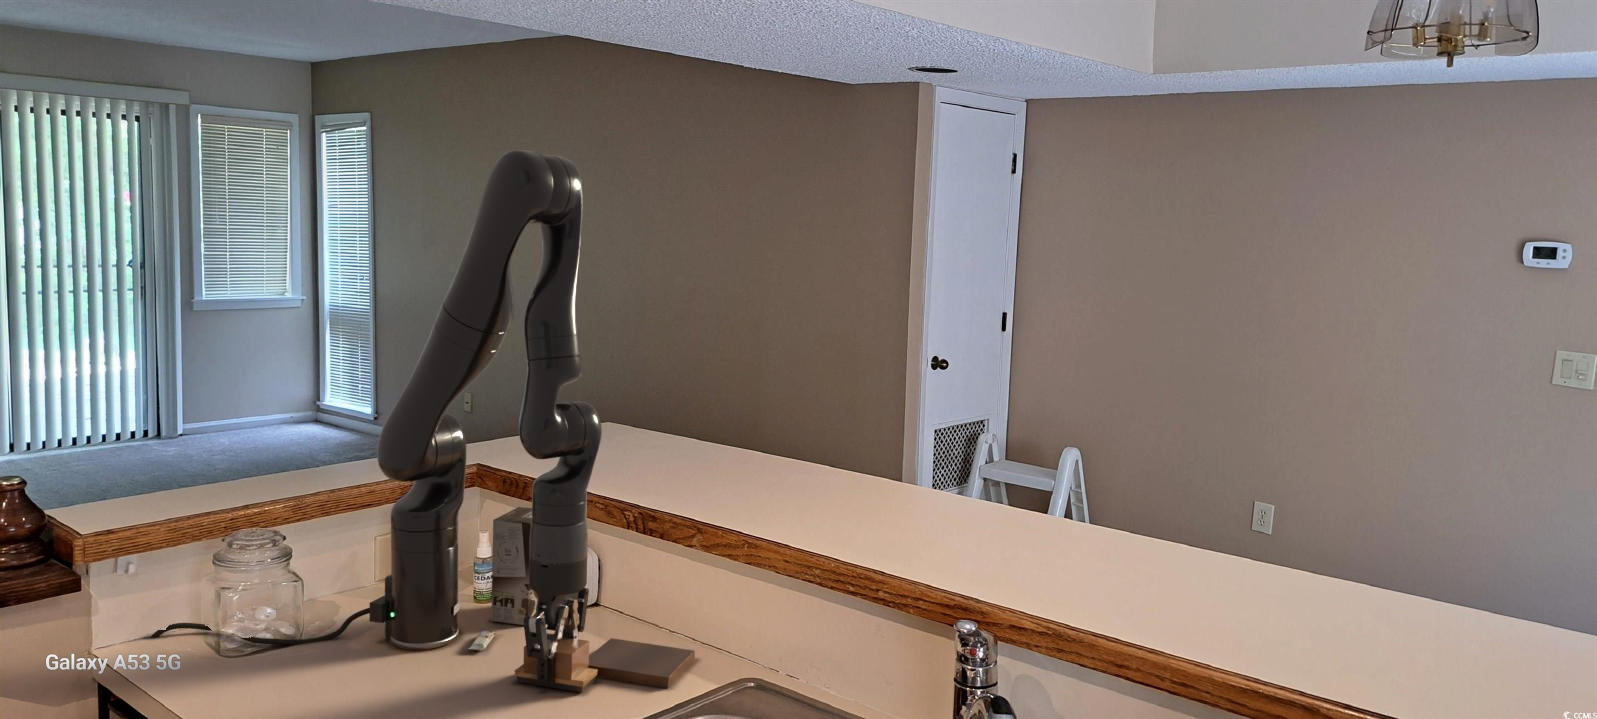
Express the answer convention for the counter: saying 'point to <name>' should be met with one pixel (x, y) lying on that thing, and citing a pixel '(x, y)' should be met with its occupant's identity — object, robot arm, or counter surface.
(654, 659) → the board
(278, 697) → the counter surface
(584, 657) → the stepped wooden block
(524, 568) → the coffee box
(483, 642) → the granola bar
